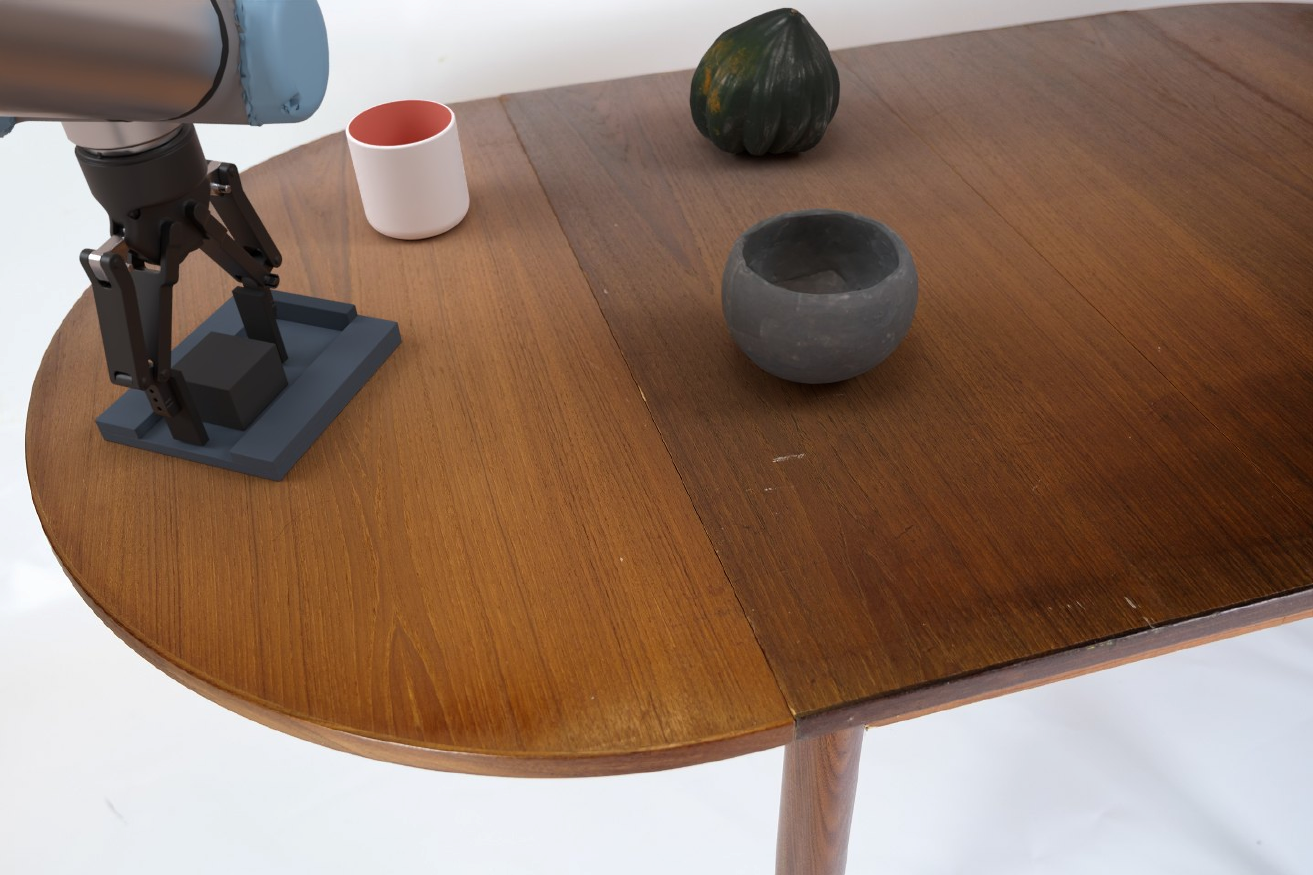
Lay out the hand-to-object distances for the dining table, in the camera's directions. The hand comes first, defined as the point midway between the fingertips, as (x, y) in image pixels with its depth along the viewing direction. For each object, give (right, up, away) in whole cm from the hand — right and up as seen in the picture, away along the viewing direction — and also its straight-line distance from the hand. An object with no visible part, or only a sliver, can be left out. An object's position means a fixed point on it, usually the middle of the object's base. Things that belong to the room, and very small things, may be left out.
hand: (233, 397), depth 88 cm
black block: (0, 0, 0) cm, 0 cm away
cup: (+10, +18, +22) cm, 30 cm away
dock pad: (+1, +1, +3) cm, 3 cm away
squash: (+44, +28, +31) cm, 61 cm away
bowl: (+46, +3, +3) cm, 46 cm away
